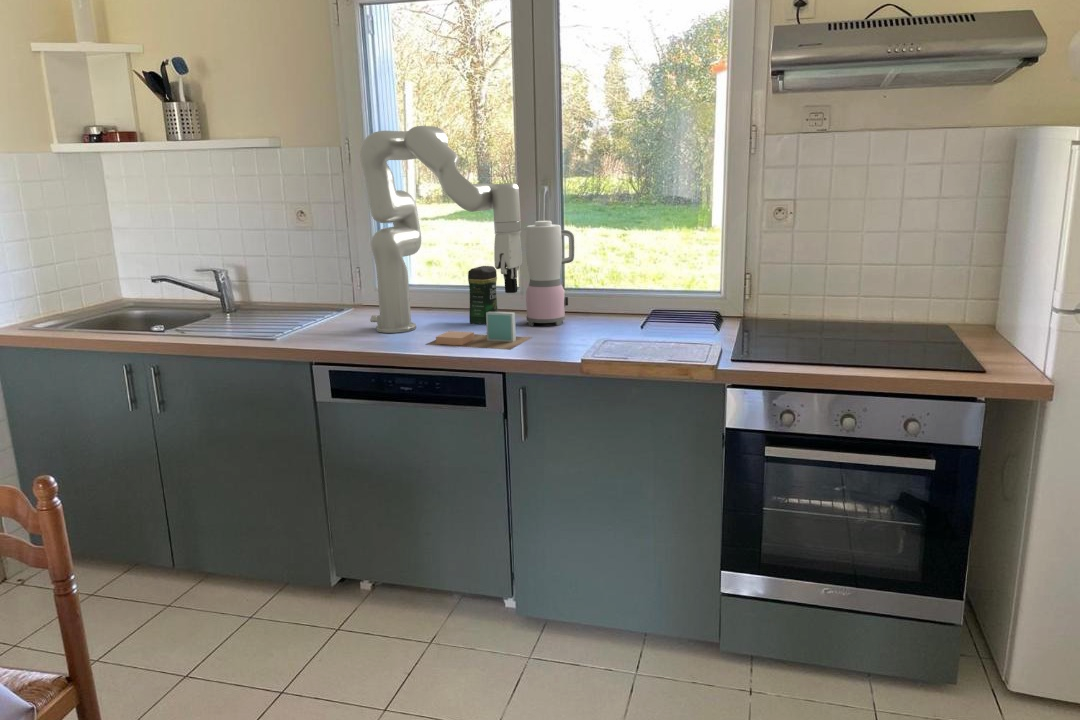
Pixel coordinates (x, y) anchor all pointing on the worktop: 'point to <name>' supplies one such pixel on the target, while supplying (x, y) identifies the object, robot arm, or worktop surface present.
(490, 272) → the coffee jar
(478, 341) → the walnut board
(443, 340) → the terracotta tile
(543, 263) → the blender
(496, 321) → the grey-blue tile
